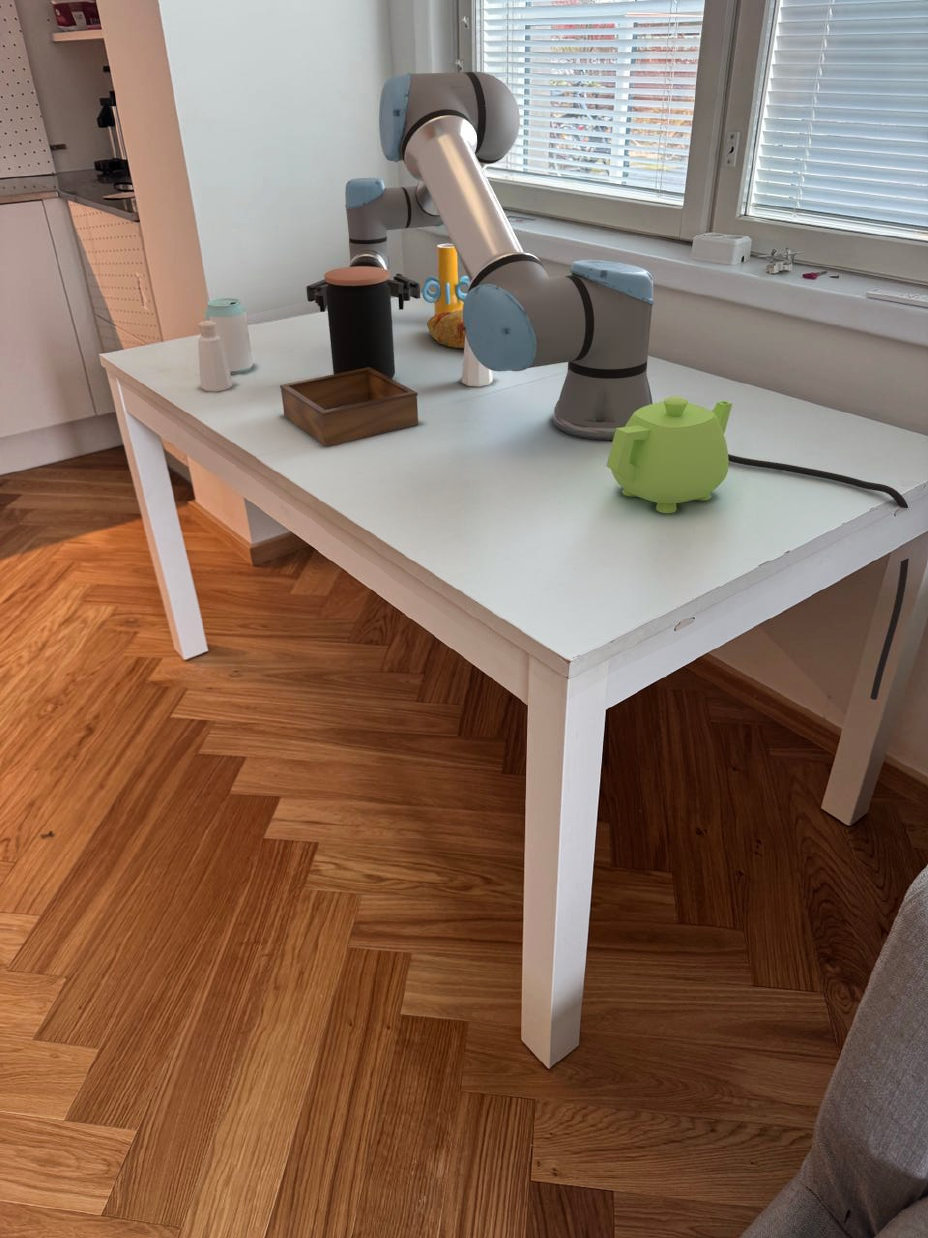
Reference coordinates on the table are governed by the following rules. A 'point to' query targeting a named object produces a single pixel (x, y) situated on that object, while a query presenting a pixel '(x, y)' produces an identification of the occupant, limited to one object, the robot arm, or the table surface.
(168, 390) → the table surface
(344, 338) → the coffee jar
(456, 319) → the croissant
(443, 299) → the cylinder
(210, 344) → the salt shaker
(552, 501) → the table surface
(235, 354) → the can
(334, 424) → the wooden tray
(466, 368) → the pepper shaker
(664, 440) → the teapot
